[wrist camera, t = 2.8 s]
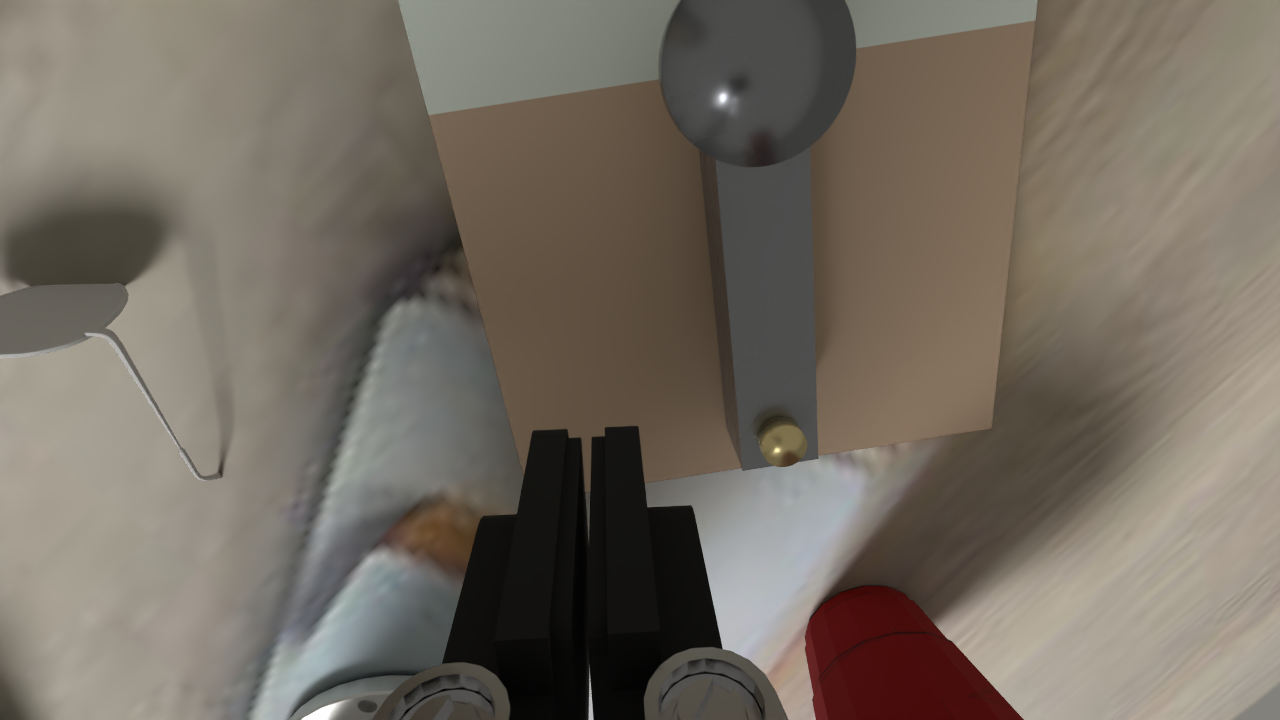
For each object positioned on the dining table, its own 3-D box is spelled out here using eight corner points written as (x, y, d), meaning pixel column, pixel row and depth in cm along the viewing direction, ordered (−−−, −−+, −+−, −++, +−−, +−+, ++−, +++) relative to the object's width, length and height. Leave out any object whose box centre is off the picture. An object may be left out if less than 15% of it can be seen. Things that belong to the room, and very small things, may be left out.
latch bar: (824, 411, 23) (861, 465, 20) (695, 432, 23) (711, 488, 20) (814, -43, 17) (865, -71, 14) (640, -16, 17) (651, -37, 14)
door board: (963, 403, 26) (1038, 469, 22) (534, 471, 26) (522, 551, 22) (1053, -657, 14) (1253, -979, 10) (278, -538, 14) (139, -810, 10)
